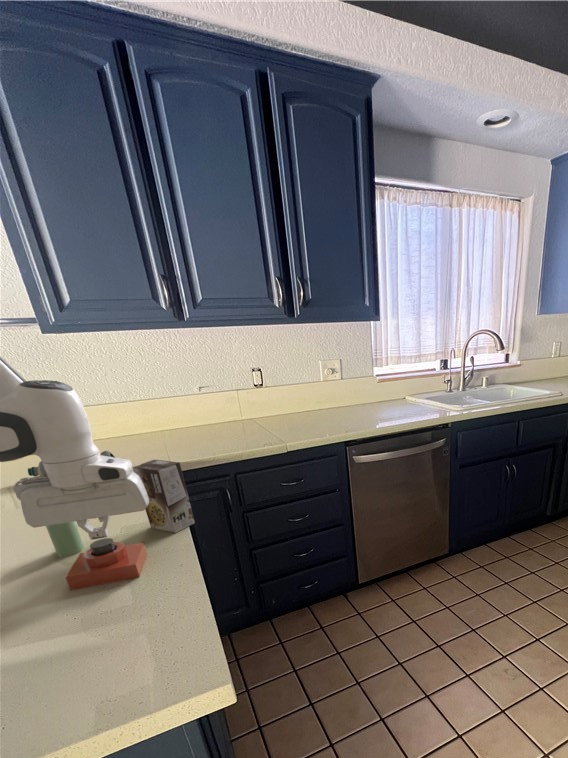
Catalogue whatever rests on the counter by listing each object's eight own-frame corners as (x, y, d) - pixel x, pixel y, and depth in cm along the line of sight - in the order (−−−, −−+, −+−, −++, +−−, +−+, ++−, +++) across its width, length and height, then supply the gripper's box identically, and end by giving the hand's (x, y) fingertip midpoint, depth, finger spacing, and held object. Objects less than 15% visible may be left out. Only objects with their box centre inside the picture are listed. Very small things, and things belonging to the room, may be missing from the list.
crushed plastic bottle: (119, 464, 158) (36, 474, 148) (113, 445, 155) (29, 455, 145) (116, 477, 148) (28, 489, 138) (111, 457, 144) (20, 468, 135)
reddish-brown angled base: (70, 590, 82) (61, 568, 80) (84, 565, 90) (77, 544, 88) (139, 577, 85) (132, 555, 83) (147, 554, 94) (141, 534, 92)
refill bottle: (54, 558, 94) (26, 490, 87) (61, 547, 98) (35, 482, 92) (81, 553, 95) (55, 486, 89) (87, 543, 100) (63, 479, 93)
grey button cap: (90, 558, 84) (87, 549, 83) (95, 549, 87) (92, 540, 86) (113, 554, 85) (110, 545, 84) (117, 545, 88) (114, 536, 87)
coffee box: (196, 522, 108) (181, 461, 101) (175, 533, 103) (158, 470, 96) (170, 517, 112) (154, 458, 105) (149, 528, 106) (131, 466, 100)
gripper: (1, 485, 73) (32, 555, 79) (133, 468, 79) (153, 534, 85) (17, 474, 79) (44, 540, 84) (139, 459, 85) (157, 521, 90)
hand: (100, 537), depth 85 cm, fingers closed
